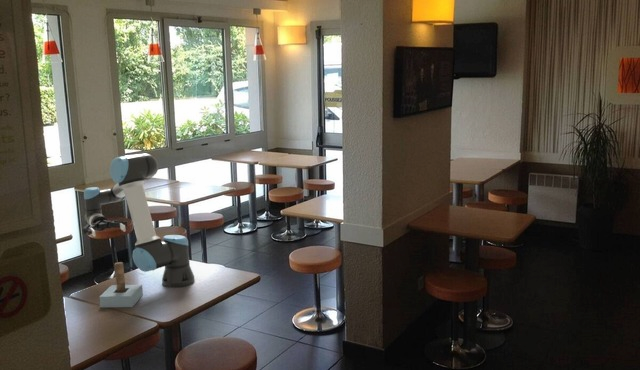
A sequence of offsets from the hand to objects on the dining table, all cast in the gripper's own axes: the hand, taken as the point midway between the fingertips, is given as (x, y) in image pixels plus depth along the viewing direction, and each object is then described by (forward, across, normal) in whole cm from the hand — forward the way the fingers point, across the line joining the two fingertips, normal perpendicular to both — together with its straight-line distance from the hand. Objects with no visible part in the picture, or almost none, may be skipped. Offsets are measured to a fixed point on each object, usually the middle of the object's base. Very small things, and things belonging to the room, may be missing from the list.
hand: (109, 231), depth 266 cm
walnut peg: (+18, +2, -28) cm, 33 cm away
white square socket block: (+18, +2, -28) cm, 33 cm away
